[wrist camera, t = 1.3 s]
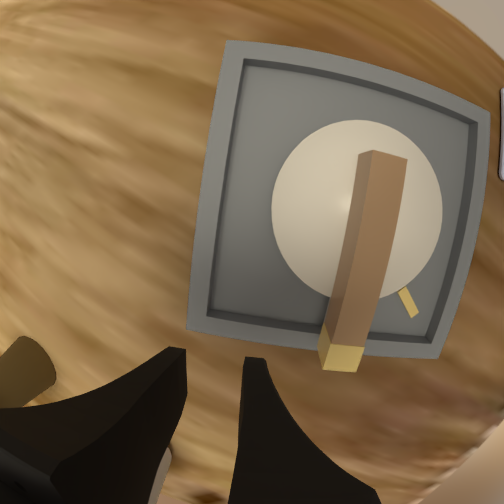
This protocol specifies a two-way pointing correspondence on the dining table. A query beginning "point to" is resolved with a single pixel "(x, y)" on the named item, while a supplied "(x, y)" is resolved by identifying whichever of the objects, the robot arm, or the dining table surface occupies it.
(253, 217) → the slate tray
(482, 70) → the dining table surface
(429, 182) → the dial
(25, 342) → the cork
